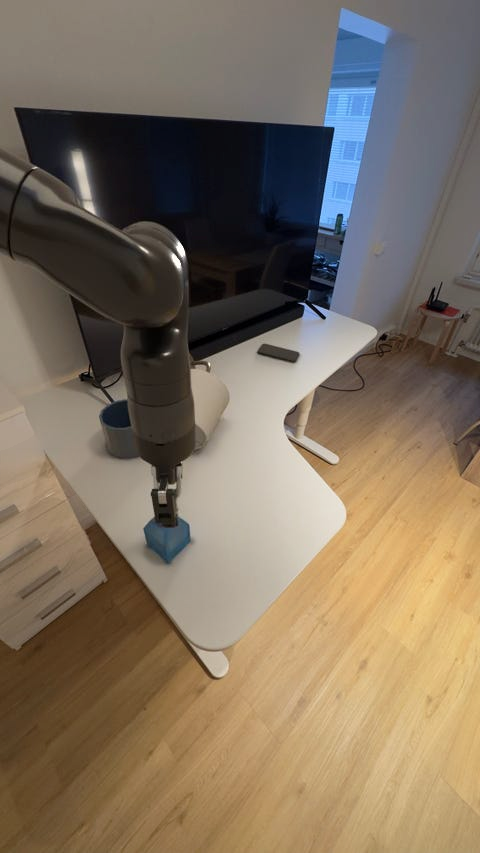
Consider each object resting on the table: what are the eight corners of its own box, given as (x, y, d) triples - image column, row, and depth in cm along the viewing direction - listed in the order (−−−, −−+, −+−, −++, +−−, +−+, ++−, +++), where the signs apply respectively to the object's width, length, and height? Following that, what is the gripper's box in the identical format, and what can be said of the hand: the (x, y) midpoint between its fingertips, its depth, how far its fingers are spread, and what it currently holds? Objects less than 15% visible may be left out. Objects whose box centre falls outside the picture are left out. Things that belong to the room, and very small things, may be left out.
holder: (111, 463, 85) (103, 434, 78) (104, 434, 92) (95, 405, 86) (158, 451, 89) (153, 422, 82) (147, 423, 97) (142, 395, 90)
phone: (295, 361, 125) (256, 351, 128) (294, 363, 125) (256, 353, 129) (300, 352, 130) (263, 342, 134) (299, 354, 131) (262, 344, 134)
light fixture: (249, 370, 109) (224, 454, 88) (197, 375, 116) (161, 455, 94) (234, 325, 98) (201, 408, 76) (176, 333, 104) (131, 412, 83)
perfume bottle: (168, 563, 67) (162, 530, 59) (147, 545, 69) (138, 510, 61) (190, 541, 71) (188, 506, 63) (169, 524, 73) (164, 489, 65)
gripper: (140, 383, 46) (154, 464, 57) (118, 463, 35) (140, 544, 46) (197, 384, 46) (199, 464, 57) (192, 462, 36) (196, 542, 47)
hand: (173, 499), depth 52 cm, fingers open, 8 cm apart
